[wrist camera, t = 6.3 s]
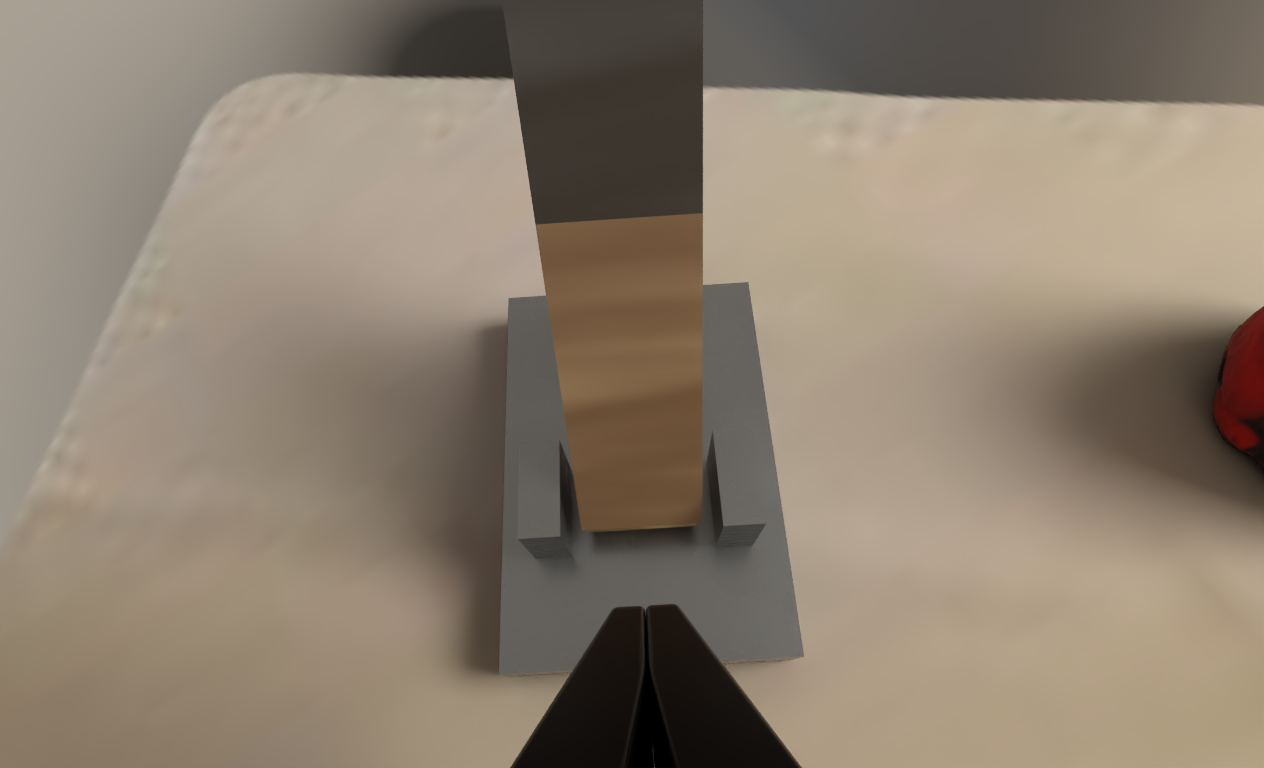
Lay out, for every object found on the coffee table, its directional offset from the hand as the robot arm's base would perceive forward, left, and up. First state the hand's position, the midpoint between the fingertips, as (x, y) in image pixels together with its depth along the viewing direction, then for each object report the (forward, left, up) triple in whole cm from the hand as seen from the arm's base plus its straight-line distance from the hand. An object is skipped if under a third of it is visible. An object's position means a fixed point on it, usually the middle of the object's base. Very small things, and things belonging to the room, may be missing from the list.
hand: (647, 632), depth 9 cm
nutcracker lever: (+4, +1, -8) cm, 9 cm away
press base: (+5, +1, -10) cm, 12 cm away
